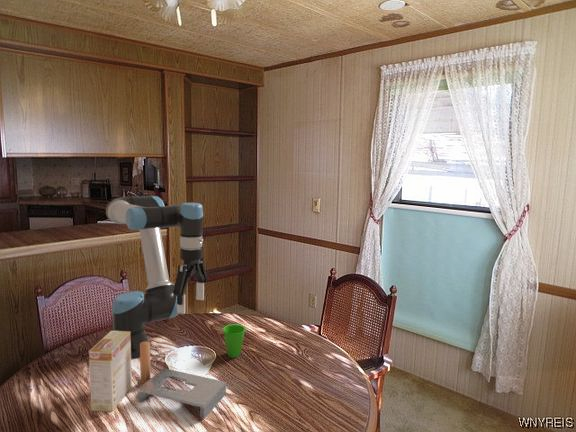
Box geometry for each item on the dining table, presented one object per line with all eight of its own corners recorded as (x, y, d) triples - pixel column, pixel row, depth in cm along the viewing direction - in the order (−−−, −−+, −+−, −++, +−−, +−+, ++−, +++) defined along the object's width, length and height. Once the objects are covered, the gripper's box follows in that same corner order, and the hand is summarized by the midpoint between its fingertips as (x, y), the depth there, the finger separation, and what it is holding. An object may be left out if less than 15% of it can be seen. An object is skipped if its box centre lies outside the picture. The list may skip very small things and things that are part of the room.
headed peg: (134, 387, 137) (133, 345, 135) (144, 379, 142) (143, 339, 140) (147, 390, 135) (146, 347, 134) (156, 382, 140) (156, 341, 138)
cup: (247, 350, 166) (247, 324, 165) (242, 361, 157) (243, 334, 156) (225, 348, 167) (225, 323, 166) (219, 359, 158) (220, 332, 157)
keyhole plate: (137, 401, 129) (137, 388, 128) (164, 379, 142) (164, 368, 142) (203, 419, 121) (203, 405, 121) (225, 394, 134) (225, 382, 134)
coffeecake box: (112, 384, 138) (110, 330, 136) (132, 385, 138) (131, 330, 136) (89, 411, 124) (87, 350, 121) (112, 412, 123) (111, 351, 121)
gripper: (182, 256, 128) (182, 320, 131) (216, 241, 152) (216, 296, 155) (161, 254, 130) (161, 317, 133) (198, 239, 154) (198, 293, 157)
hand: (191, 306), depth 144 cm, fingers open, 13 cm apart
